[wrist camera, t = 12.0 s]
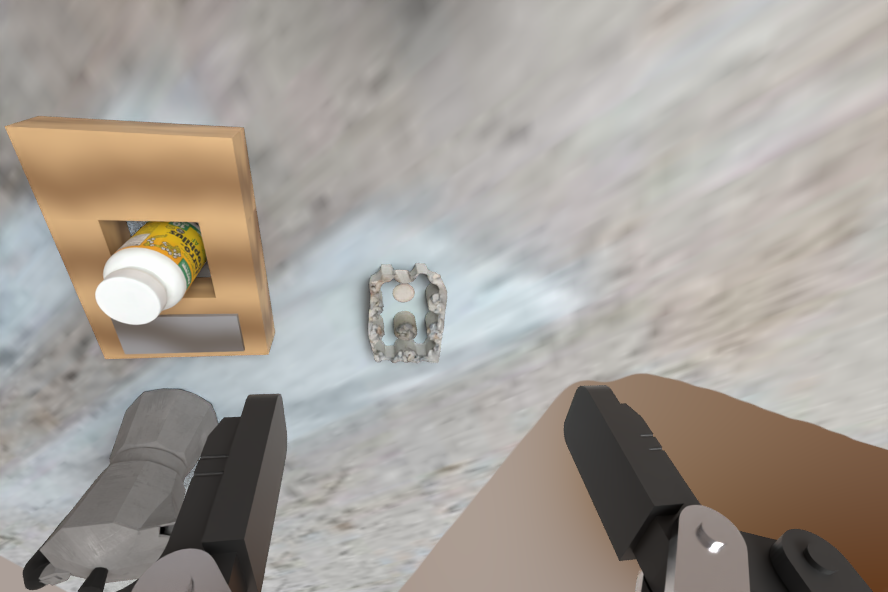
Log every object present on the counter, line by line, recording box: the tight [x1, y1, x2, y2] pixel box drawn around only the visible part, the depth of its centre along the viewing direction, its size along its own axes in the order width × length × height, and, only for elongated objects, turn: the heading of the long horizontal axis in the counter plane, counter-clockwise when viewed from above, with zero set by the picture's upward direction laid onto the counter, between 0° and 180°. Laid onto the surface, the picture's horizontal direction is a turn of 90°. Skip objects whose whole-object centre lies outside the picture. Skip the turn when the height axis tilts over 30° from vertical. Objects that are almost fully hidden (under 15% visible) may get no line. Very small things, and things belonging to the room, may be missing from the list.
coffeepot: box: [23, 389, 218, 592], centre depth 41 cm, size 15×9×18 cm, turn 110°
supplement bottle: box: [95, 221, 207, 325], centre depth 34 cm, size 5×5×10 cm
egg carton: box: [368, 263, 447, 363], centre depth 44 cm, size 11×8×4 cm
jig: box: [5, 116, 275, 359], centre depth 36 cm, size 20×14×4 cm
